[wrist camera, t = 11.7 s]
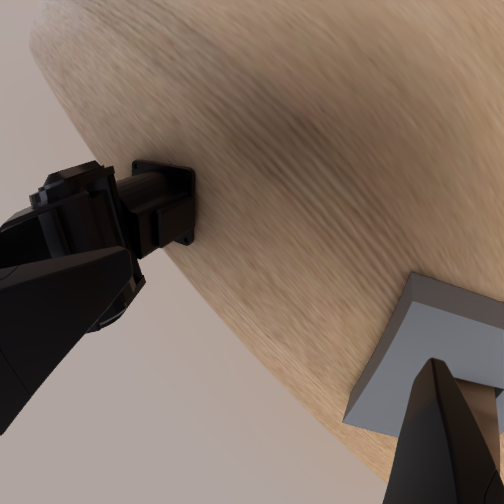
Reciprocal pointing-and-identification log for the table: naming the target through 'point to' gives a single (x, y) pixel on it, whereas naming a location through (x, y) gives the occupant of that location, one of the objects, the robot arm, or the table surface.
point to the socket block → (429, 351)
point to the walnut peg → (483, 413)
